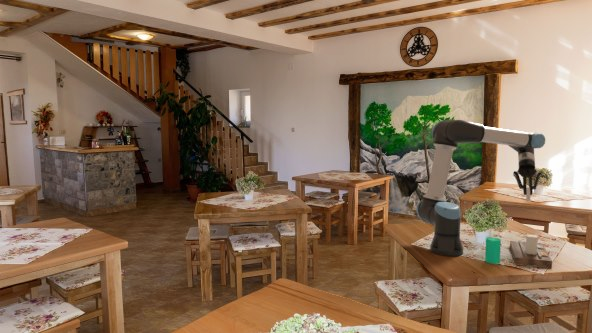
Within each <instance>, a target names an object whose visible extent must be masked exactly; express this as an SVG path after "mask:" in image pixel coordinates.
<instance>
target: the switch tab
mask: <svg viewBox="0 0 592 333" xmlns="http://www.w3.org/2000/svg"><path fill="white" fill-rule="evenodd" d="M525 237H526V238H525V242H526V254H532V255H537V243H539V242H538V235H536V234H527V233H526V235H525Z"/></svg>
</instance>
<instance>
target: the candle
mask: <svg viewBox="0 0 592 333" xmlns="http://www.w3.org/2000/svg"><path fill="white" fill-rule="evenodd" d="M501 241H502V239H500V238H499V237H494V235H493V236H491V237H490V236H486V237H485V254H484V256H485V258H484V259H485V262H486V263H488V264H493V265H494V264H495V265H497V264H500V262H501V246H502V245H501Z"/></svg>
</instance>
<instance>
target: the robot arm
mask: <svg viewBox="0 0 592 333" xmlns="http://www.w3.org/2000/svg"><path fill="white" fill-rule="evenodd" d="M431 137H432V139H433V146H434V147H435V150H434V154H433V155H434V156H433V159H432V165H431V168H430V169H431V171H430V176H429V179H428V185H427V189H426V193H424V194H423V195H422V199H421V200H420V201H419V202H418V203H417V205H416V207H415V210H416V211H415V212H416V215H417V217H418V219H420V220H421V221H422V222H423V223H425V224H429V225H431V226H433V227H434V230H433V231H434V235H433V237H432V240H431V243H430V246H429V249H430V252H431V253H433V254H436V255H440V256H448V257H456V256H461V255H463V254H464V247H463V244H462V238H461V216H462V214H461V207H460V206H459V205H458V204H457V203H453V202H449V201H447V200H446V198H445V194H446V187H447V183H448V179H449V174H450V169H451V164H452V157H453V153H454V151H455V150H456V149H458V145H459V144H480V143H487V144H497V145H505V146H509V148H511V149H512V150H514V151H515V152H517V154H518V155H517V158H518V168H517V169H518V170H517V171H513V173H512V174H513V175H512V176H513V177H514V178H515V180H516V183H517V186H518V188H519V189H521V190H522V191H523V195H525V201H526V202H531V196H533V194H534V193H533V192H534V190H536V189H537V187H538V186H537V185H538V182H539V179H540V178H541V177H542V171H539V172H538V171H537V169H536V158H535V149H541V148H543V147H544V146H545V144H546V136H545V135H544V134H542V133H539V132H538V133H537V132H527V131H526V132H525V131H521V130H513V129H511V128H509V129H507V128H506V129H503V128H498V127H491V126H484V124H482V123H476V122H472V121H468V120H463V119H443V120H439V121H438V122H436V123H435V124H434V125H433V126H432V130H431ZM520 176H521V177H522V181H521V178H520ZM534 176H535V181H534V183H533V177H534ZM527 178H528V186H527Z"/></svg>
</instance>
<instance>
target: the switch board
mask: <svg viewBox="0 0 592 333" xmlns="http://www.w3.org/2000/svg"><path fill="white" fill-rule="evenodd" d="M509 248H510V251H511V254H512V258H513V262H514V264H515V265H521V266H522V265H523V266H530V265H531V266H530V267H532V266H533V267H541V268H548V269H549V268H550V269H552V268H553V259H552V258H551V256H550V254H549V253H548V251H547V250H546V248H545V246H544V244H543V243H541V242H540V243H539V242H537V255H532V254H526V241H522V240H518V241H517V240H510V241H509Z"/></svg>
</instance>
